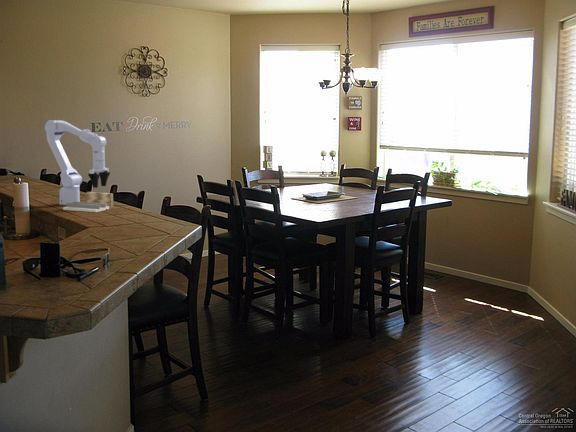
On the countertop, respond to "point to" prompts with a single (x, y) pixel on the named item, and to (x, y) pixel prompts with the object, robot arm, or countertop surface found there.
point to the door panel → (100, 198)
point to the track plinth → (86, 206)
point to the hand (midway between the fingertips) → (99, 186)
